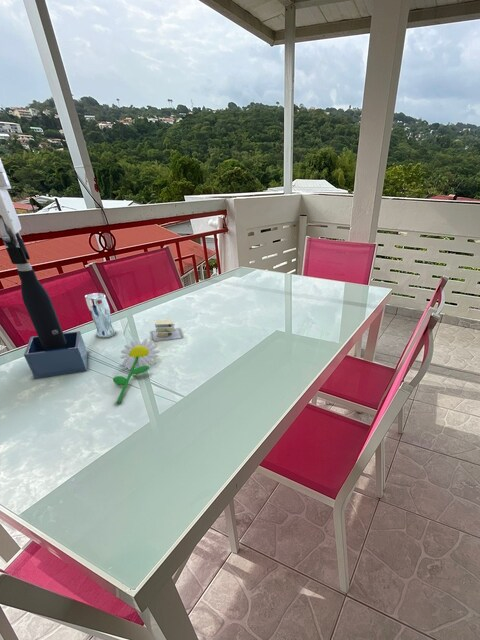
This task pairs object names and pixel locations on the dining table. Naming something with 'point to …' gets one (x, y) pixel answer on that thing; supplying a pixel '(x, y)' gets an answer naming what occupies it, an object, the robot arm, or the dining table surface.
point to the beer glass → (100, 314)
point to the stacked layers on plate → (165, 330)
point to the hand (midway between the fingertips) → (21, 260)
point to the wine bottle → (39, 306)
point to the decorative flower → (136, 361)
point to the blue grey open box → (57, 356)
